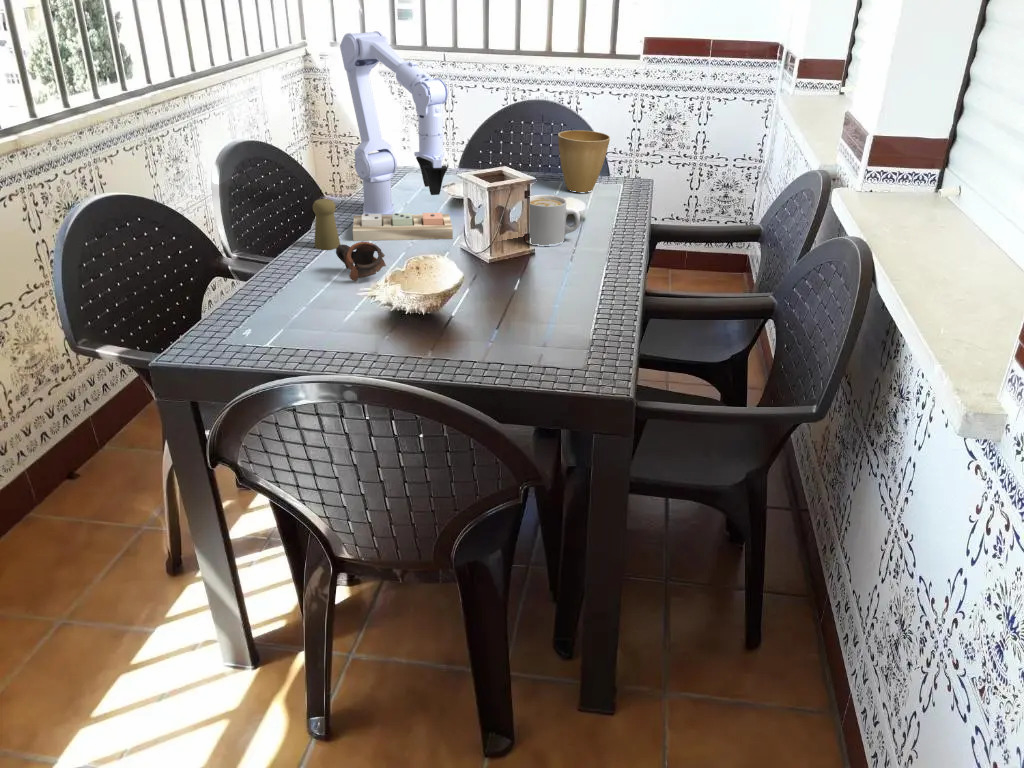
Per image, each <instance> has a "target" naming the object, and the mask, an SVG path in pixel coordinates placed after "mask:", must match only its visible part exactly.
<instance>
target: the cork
mask: <svg viewBox="0 0 1024 768" xmlns="http://www.w3.org/2000/svg"><path fill="white" fill-rule="evenodd" d="M336 207H337V206H336V203H335V202H334V201H333V200H331V199H329V198H320V199H315V200H314V201H313V204H312V211H313V213H314V214H315V222H314V223H315V228H314V248H315V249H316V250H320V249H321V250H320V251H322V250H323V251H330V250H331V251H332V250H336V248H337V247H338V246H339V245H341V242H340V238H339V232H338V227H337V222H336V219H335V218H336V217H335V212H336Z"/></svg>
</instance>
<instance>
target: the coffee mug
mask: <svg viewBox="0 0 1024 768" xmlns="http://www.w3.org/2000/svg"><path fill="white" fill-rule="evenodd" d="M529 197H530V238H531V243H532V244H539V245H549V244H556V243H560V242H562V241H563V240H564V241H565V237H566V235H568V234H571V233H573V232H575V231H576V230H577V229H578V228H579V227H580V224H581V223H580V222H581V215H580V212H579V211H578V209H576V208H574V207H568V206H567V199H566V198H564V197H561V196H557V195H551V194H535V195H531V196H530V195H529ZM570 214H572V215H573V216H574V223H573V224H572V225H569V224H567V217H568V215H570Z"/></svg>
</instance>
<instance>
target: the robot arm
mask: <svg viewBox="0 0 1024 768" xmlns="http://www.w3.org/2000/svg"><path fill="white" fill-rule="evenodd" d="M339 48H340V53H341V57H342V63H343V67H344V70H345V71H346V76H347V81H348V85H349V90H350V95H351V99H352V104H353V108H354V113H355V117H356V123H357V127H358V131H359V137H360V142H359V144H358V145H357V147H356V148H355V149H354V152H353V153H354V158H355V159H354V168H355V172H356V173H357V175H358V177H359V179H360V180H362V186H363V187H362V188H363V189H362V190H363V203H364V204H363V208H362V209H363V210H362V214H381V215H392V214H393V213H395V212H394V210H395V209H394V203H393V202H392V201H393V199H392V181H391V179H392V178H394V174H395V173H396V172H397V171H396V170H397V169H398V161H397V158H396V155H395V154H394V151H393V147H392V145H391V144H390V142H388V141H386V140H384V139H383V138H382V132H381V127H380V124H379V118H378V113H377V109H376V103H375V99H374V93H373V89H372V83H371V80H370V73H371V72H372V69H374V68H375V67H376V66H377V65H378V64H379V63H381V64H382V65H384V66H385V67H386V68H388V69H389V70H390V71H392V73H395V79H396V81H397V82H398V83H399V84H400V85H401V86H402V88H404V89H406V90H407V91H408V93H410V94H411V97H412V100H413V102H414V105H415V111H416V114H417V115H418V116H417V117H418V119H417V120H418V121H417V122H418V151H414V153H413V154H414V157H415V159H416V161H417V163H418V166H419V168H420V169H419V170H420V171H421V175H422V181H423V185H424V188H426V187H427V188H428V189H429V193H430V195H431V196H439V195H440V194H441V190H442V184H443V181H444V178H445V176H446V173H447V171H448V166H447V165H443V162H442V160H443V158H444V157H445V152H444V117H443V116H444V115H443V109H444V108H443V105H444V104H445V103H446V102H447V101H448V95H449V92H448V87H447V84H445V82H444V81H443V79H442V78H439V77H438V78H434V77H431V76H430V74H428V73H427V72H425V71H424V70H422V68H420V67H419V66H418V63H417V62H416V61H414V60H413V61H411V60H406V61H405V60H404V59H403V58H402V57H401V56H400V55H399V53H397V51H395V49H393V48H392V47H391V45H390V44H389V42H388V38H387V37H386V36H385V35H383V33H382V32H380V31H378V30H377V31H375V30H374V31H371V32H370V31H369V32H358V33H356V32H355V33H351V32H348V33H345V34H344V35H343V37H342V40H341V42H340V44H339ZM374 151H375V152H374ZM371 152H372V153H371Z"/></svg>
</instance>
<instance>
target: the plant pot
mask: <svg viewBox="0 0 1024 768" xmlns="http://www.w3.org/2000/svg"><path fill="white" fill-rule="evenodd" d="M557 139H558V152H559V159H560V160H559V161H560V164H561V165H560V166H561V170H562V175H563V179H564V184H565V187H566V190H567V189H568V190H571V191H576V192H588V191H591V190H592V191H593V190H594V188H595V185H596V184H597V181H598V179H599V177H600V174H601V171H602V168H603V165H604V163H605V160H606V158H607V153H608V149H609V144H610V140H611V137H610V135H609V134H606V133H603V132H599V131H592V130H582V129H581V130H579V129H578V130H576V129H575V130H573V129H572V130H565V131H560V132H558V134H557ZM568 190H567V191H568Z"/></svg>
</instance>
